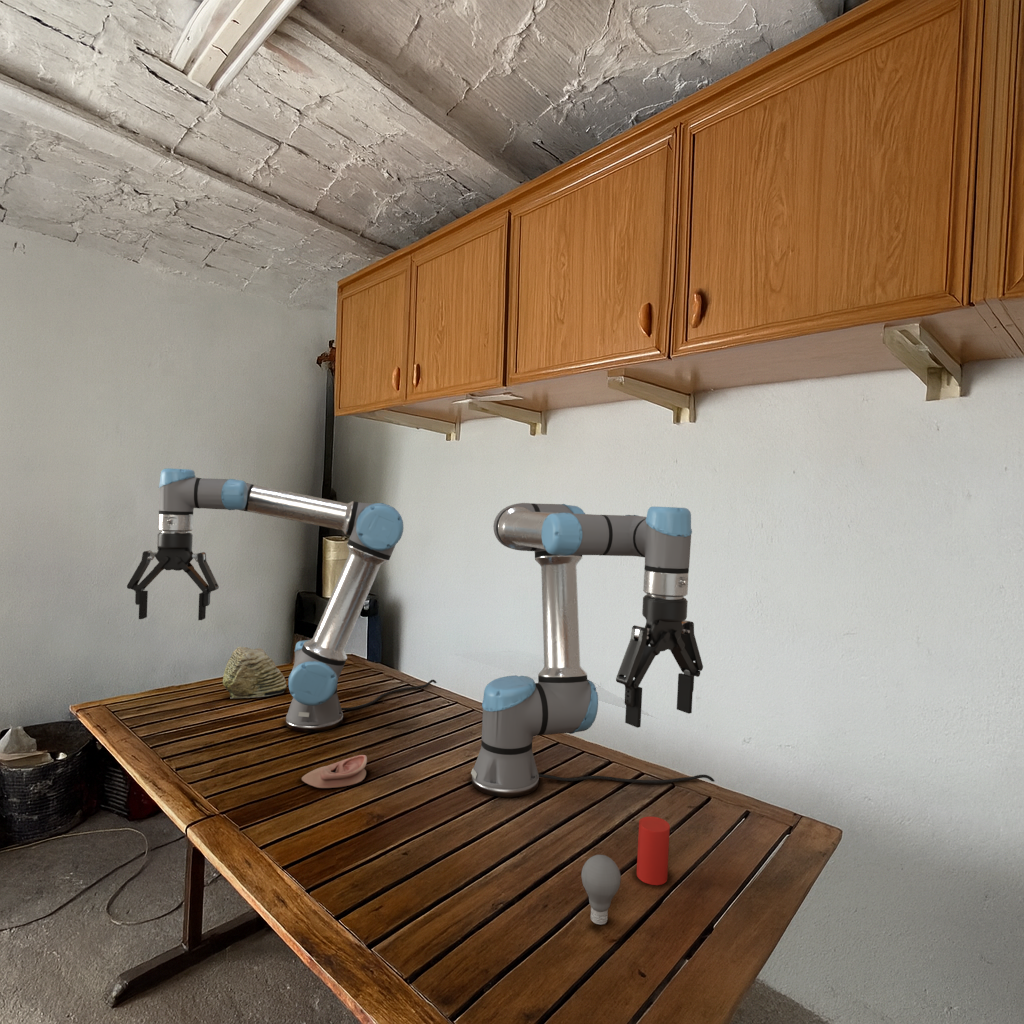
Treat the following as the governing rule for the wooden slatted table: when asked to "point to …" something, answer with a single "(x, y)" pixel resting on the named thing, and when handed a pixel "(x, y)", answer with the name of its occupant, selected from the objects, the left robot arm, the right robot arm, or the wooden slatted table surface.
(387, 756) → the wooden slatted table surface
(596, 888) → the light bulb
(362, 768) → the anatomical model
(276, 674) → the fossil
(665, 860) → the cylinder
